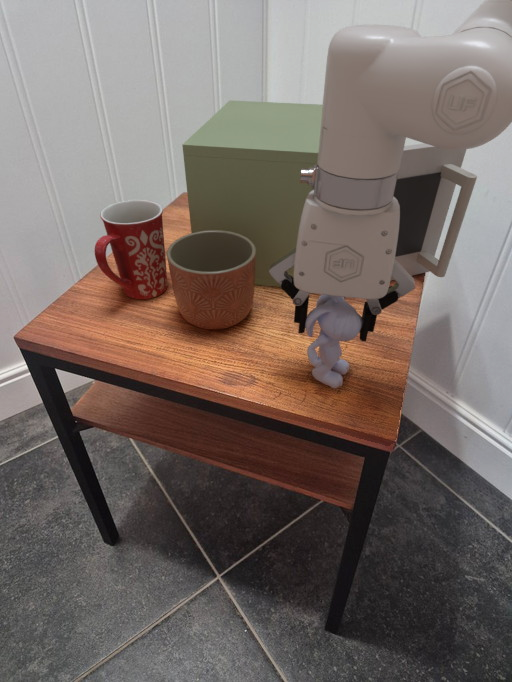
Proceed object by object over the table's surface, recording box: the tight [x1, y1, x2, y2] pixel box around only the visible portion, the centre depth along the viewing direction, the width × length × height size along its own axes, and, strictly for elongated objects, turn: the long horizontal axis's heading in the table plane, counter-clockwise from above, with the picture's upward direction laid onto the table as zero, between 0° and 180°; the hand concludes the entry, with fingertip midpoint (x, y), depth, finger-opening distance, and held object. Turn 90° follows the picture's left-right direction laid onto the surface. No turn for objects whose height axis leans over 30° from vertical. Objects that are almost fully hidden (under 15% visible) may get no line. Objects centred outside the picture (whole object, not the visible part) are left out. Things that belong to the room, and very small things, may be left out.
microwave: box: [182, 100, 323, 288], centre depth 77 cm, size 24×28×22 cm
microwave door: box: [390, 143, 478, 282], centre depth 66 cm, size 7×20×22 cm, turn 112°
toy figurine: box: [305, 294, 363, 389], centre depth 54 cm, size 7×6×12 cm
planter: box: [166, 230, 256, 330], centre depth 64 cm, size 12×12×11 cm
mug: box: [94, 199, 168, 300], centre depth 68 cm, size 13×9×14 cm
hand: (332, 329), depth 53 cm, fingers closed on toy figurine, 6 cm apart
